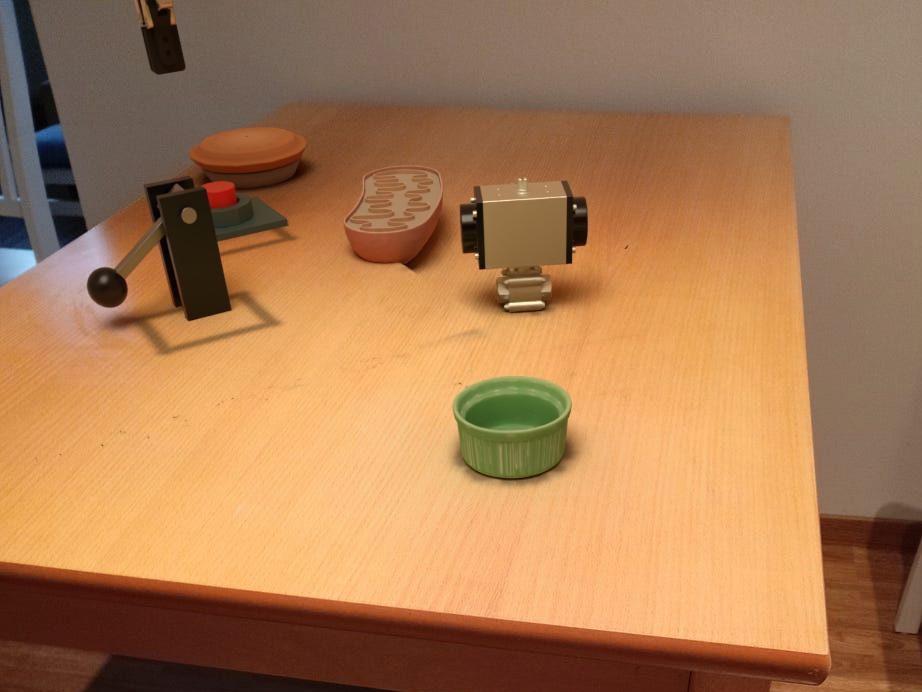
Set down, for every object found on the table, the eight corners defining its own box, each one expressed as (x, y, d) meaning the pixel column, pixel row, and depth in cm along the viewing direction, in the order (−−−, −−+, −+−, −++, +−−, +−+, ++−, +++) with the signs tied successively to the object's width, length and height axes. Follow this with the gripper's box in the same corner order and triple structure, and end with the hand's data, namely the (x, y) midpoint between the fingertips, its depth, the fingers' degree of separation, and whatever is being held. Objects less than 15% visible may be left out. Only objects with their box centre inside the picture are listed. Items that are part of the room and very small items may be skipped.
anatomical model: (372, 209, 124) (367, 166, 121) (452, 207, 124) (450, 163, 121) (343, 281, 107) (336, 233, 104) (436, 279, 107) (433, 231, 103)
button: (209, 213, 115) (205, 194, 113) (198, 204, 117) (194, 185, 116) (242, 206, 116) (239, 187, 115) (231, 197, 119) (227, 178, 118)
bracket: (164, 351, 96) (128, 212, 88) (138, 319, 102) (102, 186, 94) (273, 323, 100) (248, 187, 92) (242, 293, 106) (216, 163, 98)
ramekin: (594, 448, 79) (596, 396, 76) (519, 497, 74) (519, 445, 71) (507, 414, 84) (505, 364, 81) (431, 458, 79) (427, 407, 76)
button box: (190, 261, 114) (182, 224, 111) (164, 235, 120) (156, 200, 118) (290, 238, 118) (284, 202, 115) (259, 215, 125) (253, 180, 122)
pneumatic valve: (586, 311, 99) (589, 182, 91) (466, 319, 99) (459, 190, 91) (578, 289, 103) (581, 163, 95) (463, 296, 103) (457, 171, 95)
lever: (115, 321, 95) (83, 295, 92) (105, 308, 97) (74, 282, 94) (209, 215, 94) (180, 185, 91) (197, 204, 96) (168, 176, 93)
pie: (292, 195, 130) (285, 153, 127) (178, 194, 132) (168, 153, 129) (324, 159, 141) (319, 120, 138) (219, 159, 144) (211, 120, 140)
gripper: (57, -158, 94) (114, 64, 106) (92, -154, 84) (151, 91, 96) (137, -165, 96) (184, 53, 109) (181, -162, 86) (227, 78, 98)
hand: (168, 70), depth 102 cm, fingers closed
